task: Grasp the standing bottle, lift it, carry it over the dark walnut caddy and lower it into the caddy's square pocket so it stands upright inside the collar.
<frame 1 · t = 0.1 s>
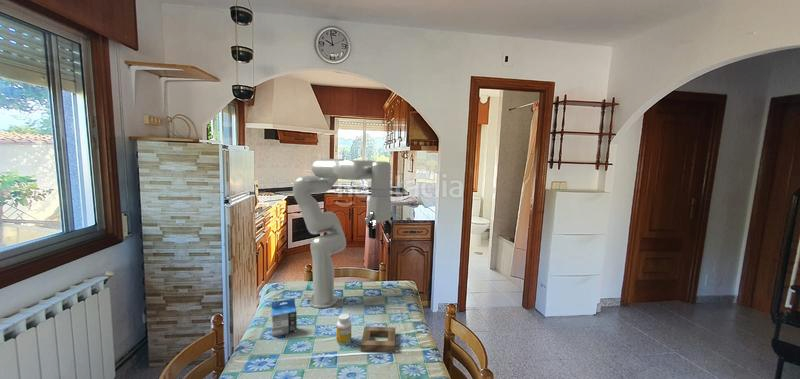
hand: (379, 235, 129), 37 cm above the table, tool pointing down, fingers open, 9 cm apart
supplement bottle: (343, 341, 121), on the table
label tape box: (284, 332, 126), on the table
walnut caddy: (378, 342, 121), on the table
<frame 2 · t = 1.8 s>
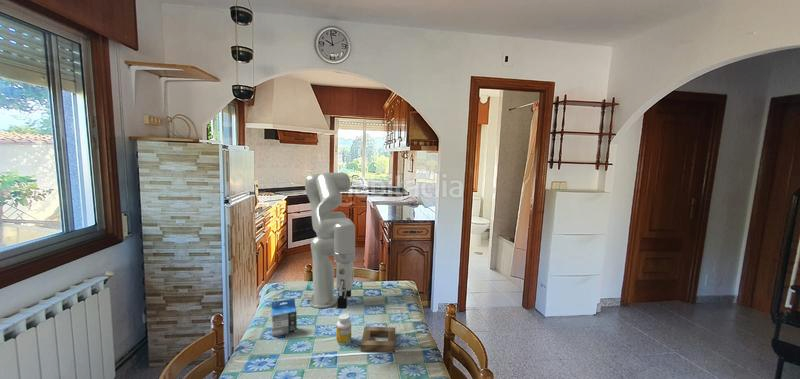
hand: (344, 302, 119), 15 cm above the table, tool pointing down, fingers open, 9 cm apart
nothing on the table moved.
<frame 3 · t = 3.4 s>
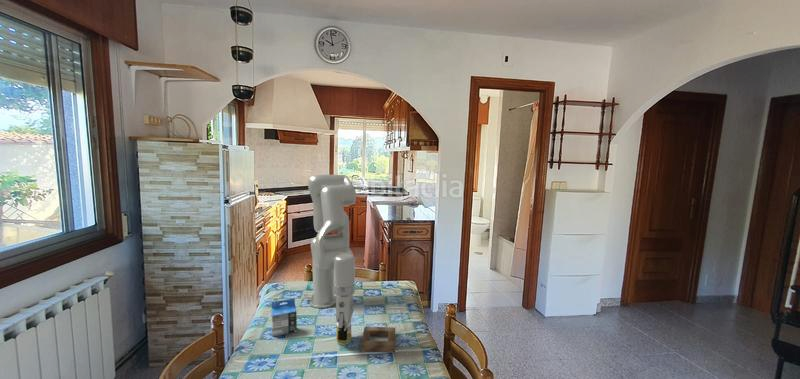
hand: (344, 334, 121), 3 cm above the table, tool pointing down, fingers closed on supplement bottle, 5 cm apart
supplement bottle: (343, 341, 121), on the table, touching gripper
everything else where it was.
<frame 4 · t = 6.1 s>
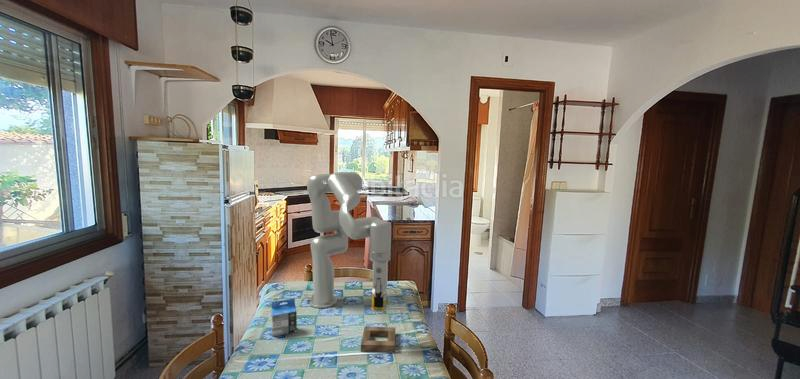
hand: (379, 302, 119), 15 cm above the table, tool pointing down, fingers closed on supplement bottle, 5 cm apart
supplement bottle: (379, 309, 119), point 13 cm above the table, touching gripper
everything else where it was.
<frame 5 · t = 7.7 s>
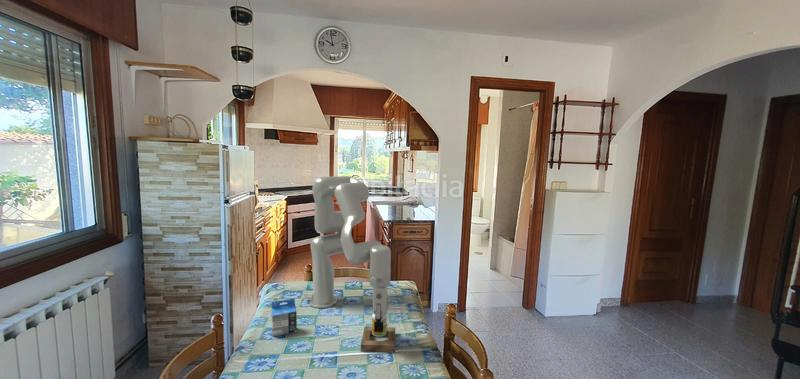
hand: (379, 326, 120), 6 cm above the table, tool pointing down, fingers closed on supplement bottle, 5 cm apart
supplement bottle: (379, 333, 120), point 3 cm above the table, touching gripper
everything else where it was.
when the fingers open (4 cm above the table, at t = 9.0 s): supplement bottle drops 1 cm, resting in walnut caddy.
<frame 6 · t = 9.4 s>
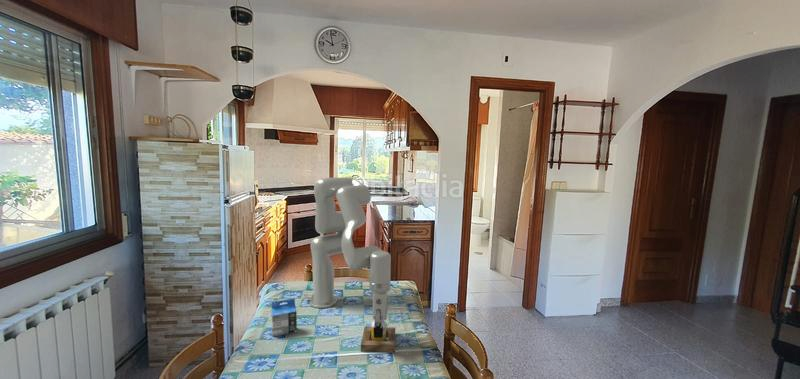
hand: (379, 329, 120), 5 cm above the table, tool pointing down, fingers open, 9 cm apart
supplement bottle: (378, 342, 121), resting in walnut caddy
everything else where it was.
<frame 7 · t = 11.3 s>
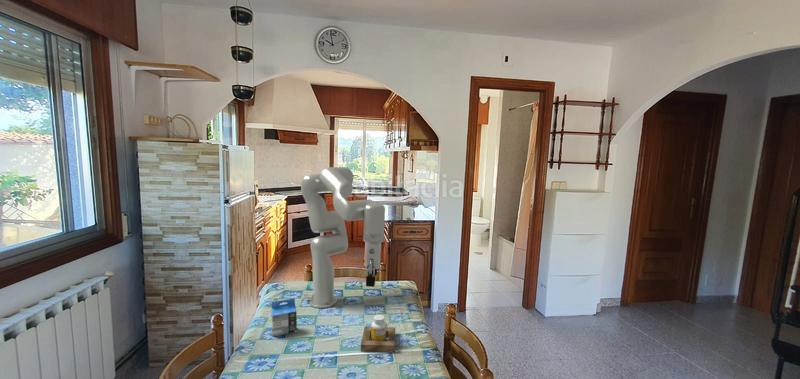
hand: (371, 280, 123), 22 cm above the table, tool pointing down, fingers open, 9 cm apart
nothing on the table moved.
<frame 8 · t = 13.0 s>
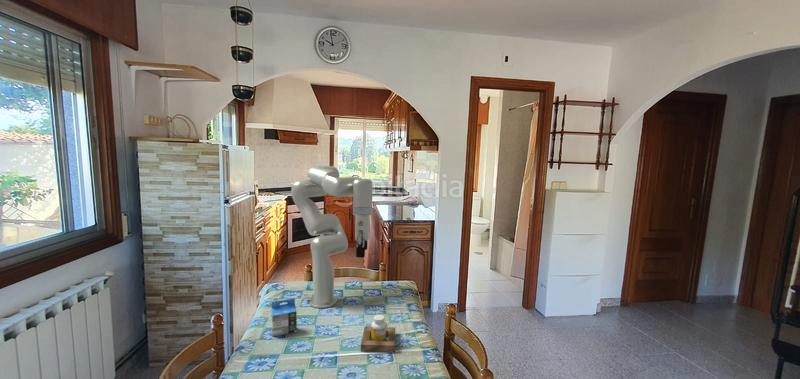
hand: (361, 253, 128), 30 cm above the table, tool pointing down, fingers open, 9 cm apart
nothing on the table moved.
at the end: supplement bottle 0.1 cm off-centre on the walnut caddy, point 0.0 cm above the walnut caddy's base; supplement bottle tilted 0°; the gripper is holding nothing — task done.
